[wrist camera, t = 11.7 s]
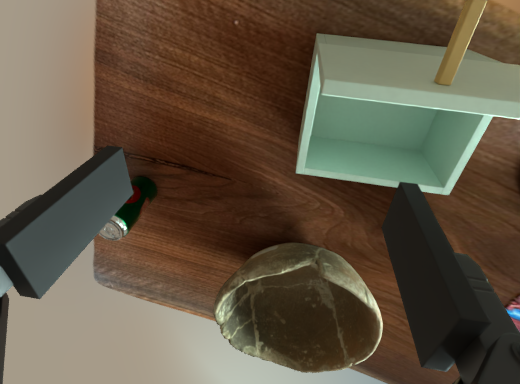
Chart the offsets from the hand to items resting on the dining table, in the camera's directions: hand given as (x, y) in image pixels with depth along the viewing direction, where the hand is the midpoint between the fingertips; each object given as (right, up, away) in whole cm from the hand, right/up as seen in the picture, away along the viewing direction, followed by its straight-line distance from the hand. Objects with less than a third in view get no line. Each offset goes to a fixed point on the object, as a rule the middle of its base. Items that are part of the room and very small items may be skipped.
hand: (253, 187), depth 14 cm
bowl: (+8, -14, +45) cm, 47 cm away
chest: (+15, +12, +25) cm, 32 cm away
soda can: (-21, +1, +39) cm, 44 cm away
